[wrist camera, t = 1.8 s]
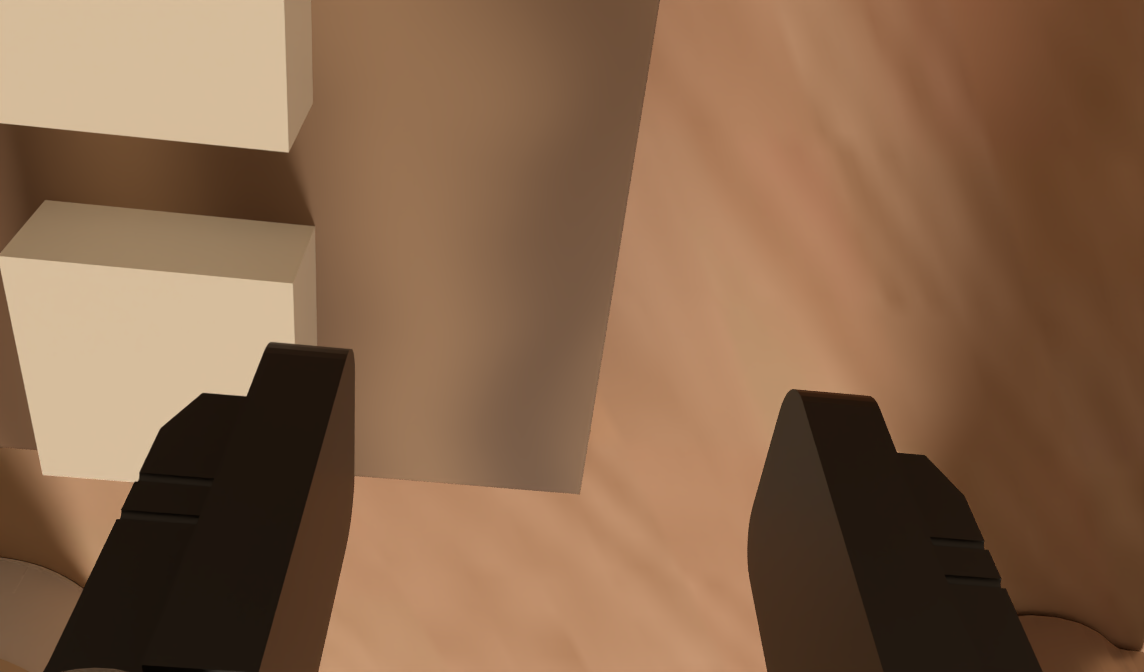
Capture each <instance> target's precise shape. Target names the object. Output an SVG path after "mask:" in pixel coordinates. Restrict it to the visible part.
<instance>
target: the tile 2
mask: <svg viewBox="0 0 1144 672" xmlns="http://www.w3.org/2000/svg"><path fill="white" fill-rule="evenodd" d="M0 270H1V275H2V279H3V284H4V289H5V294H6V299H7V304H8V309H9V313H10V318H11V323H12V328H13V333H14V338H15V343H16V347H17V352H18V357H19V362H20V367H21V372H22V377H23V382H24V386H25V391H26V396H27V401H28V406H29V411H30V416H31V420H32V425H33V430H34V435H35V440H36V445H37V450H38V455H39V459H40V464H41V469H42V474H43V475H49V476H62V477H74V478H87V479H99V480H112V481H124V482H135V481H137V482H138V480H139V472H140V470H141V468H142V465H143V463H144V461H145V459H146V457H147V455H148V453H149V451H150V449H151V447H152V445H153V442H154V440H155V438H156V436H157V434H158V432H159V430H160V428H161V427H162V426H164V425H165V424H166V423H167V422H168V421H169V420H171V419H172V418H173V417H174V416H175V415H177V414H178V413H179V412H180V411H181V410H183V409H184V408H185V407H186V406H187V405H188V404H190V403H191V402H192V401H193V400H194V399H196V398H197V397H198V396H199V395H200V394H202V393H213V394H225V395H236V396H247V393H248V391H249V388H250V386H251V383H252V381H253V378H254V375H255V373H256V370H257V368H258V365H259V363H260V360H261V358H262V355H263V352H264V350H265V348H266V346H267V345H268V343H270V342H278V343H290V344H301V345H312V346H317V309H316V252H315V226H307V225H296V224H286V223H276V222H265V221H255V220H245V219H235V218H224V217H214V216H204V215H194V214H183V213H173V212H163V211H153V210H142V209H132V208H122V207H112V206H101V205H91V204H81V203H71V202H60V201H50V200H45V201H44V202H43V203H42V204H41V205H40V207H39V208H38V209H37V210H36V211H35V213H34V214H33V215H32V216H31V217H30V218H29V220H28V221H27V222H26V223H25V224H24V225H23V227H22V228H21V229H20V230H19V231H18V233H17V234H16V235H15V236H14V237H13V238H12V240H11V241H10V242H9V243H8V244H7V246H6V247H5V248H4V249H3V250H2V251H1V253H0Z"/></svg>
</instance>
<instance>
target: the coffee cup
mask: <svg viewBox="0 0 1144 672" xmlns="http://www.w3.org/2000/svg"><path fill="white" fill-rule="evenodd" d="M82 591H83V588H82V587H80V586H79V585H77V584H76V583H74V582H73V581H71V580H69V579H68V578H66V577H64V576H62V575H60V574H58V573H56V572H54V571H51V570H49V569H47V568H44V567H41V566H38V565H35V564H32V563H28V562H24V561H19V560H14V559H8V558H0V672H43V671H44V669H45V667H46V666H47V664H48V662H49V660H50V658H51V656H52V654H53V652H54V649H55V647H56V645H57V643H58V641H59V639H60V637H61V635H62V633H63V631H64V629H65V626H66V624H67V622H68V620H69V618H70V616H71V614H72V612H73V610H74V608H75V606H76V603H77V601H78V599H79V597H80V595H81V593H82Z"/></svg>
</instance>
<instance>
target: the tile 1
mask: <svg viewBox="0 0 1144 672" xmlns="http://www.w3.org/2000/svg"><path fill="white" fill-rule="evenodd" d="M312 104H313V79H312V21H311V0H0V123H4V124H14V125H24V126H34V127H43V128H53V129H63V130H73V131H83V132H92V133H102V134H112V135H122V136H132V137H141V138H151V139H161V140H171V141H181V142H190V143H200V144H210V145H220V146H230V147H239V148H249V149H259V150H269V151H278V152H288V153H289V151H290V149H291V147H292V145H293V143H294V141H295V139H296V137H297V135H298V133H299V130H300V128H301V126H302V124H303V122H304V120H305V118H306V116H307V114H308V112H309V110H310V108H311V106H312Z"/></svg>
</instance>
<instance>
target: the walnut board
mask: <svg viewBox="0 0 1144 672" xmlns="http://www.w3.org/2000/svg"><path fill="white" fill-rule="evenodd" d="M659 2H660V0H311V21H312V79H313V104H312V106H311V108H310V110H309V112H308V114H307V116H306V118H305V120H304V122H303V124H302V126H301V128H300V130H299V133H298V135H297V137H296V139H295V141H294V143H293V145H292V147H291V149H290V151H289V153H288V152H278V151H269V150H259V149H249V148H239V147H230V146H220V145H210V144H200V143H190V142H181V141H171V140H161V139H151V138H141V137H132V136H122V135H112V134H102V133H92V132H83V131H73V130H63V129H53V128H43V127H34V126H24V125H14V124H4V123H0V253H1V251H2V250H3V249H4V248H5V247H6V246H7V244H8V243H9V242H10V241H11V240H12V238H13V237H14V236H15V235H16V234H17V233H18V231H19V230H20V229H21V228H22V227H23V225H24V224H25V223H26V222H27V221H28V220H29V218H30V217H31V216H32V215H33V214H34V213H35V211H36V210H37V209H38V208H39V207H40V205H41V204H42V203H43V202H44V201H45V200H50V201H60V202H71V203H81V204H91V205H101V206H112V207H122V208H132V209H142V210H153V211H163V212H173V213H183V214H194V215H204V216H214V217H224V218H235V219H245V220H255V221H265V222H276V223H286V224H296V225H307V226H315V252H316V309H317V346H323V347H335V348H346V349H352V350H353V352H354V358H355V466H354V476H362V477H374V478H386V479H399V480H411V481H423V482H435V483H448V484H460V485H472V486H485V487H497V488H509V489H521V490H534V491H546V492H558V493H571V494H580V490H581V484H582V478H583V472H584V465H585V459H586V453H587V447H588V441H589V434H590V428H591V422H592V416H593V410H594V404H595V397H596V391H597V385H598V379H599V373H600V367H601V360H602V354H603V348H604V342H605V336H606V330H607V323H608V317H609V311H610V305H611V299H612V292H613V286H614V280H615V274H616V268H617V262H618V255H619V249H620V243H621V237H622V231H623V225H624V218H625V212H626V206H627V200H628V194H629V188H630V181H631V175H632V169H633V163H634V157H635V150H636V144H637V138H638V132H639V126H640V120H641V113H642V107H643V101H644V95H645V89H646V83H647V76H648V70H649V64H650V58H651V52H652V45H653V39H654V33H655V27H656V21H657V15H658V8H659ZM0 447H5V448H18V449H30V450H37V445H36V440H35V435H34V430H33V425H32V420H31V416H30V411H29V406H28V401H27V396H26V391H25V386H24V382H23V377H22V372H21V367H20V362H19V357H18V352H17V347H16V343H15V338H14V333H13V328H12V323H11V318H10V313H9V309H8V304H7V299H6V294H5V289H4V284H3V279H2V275H1V270H0Z"/></svg>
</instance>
